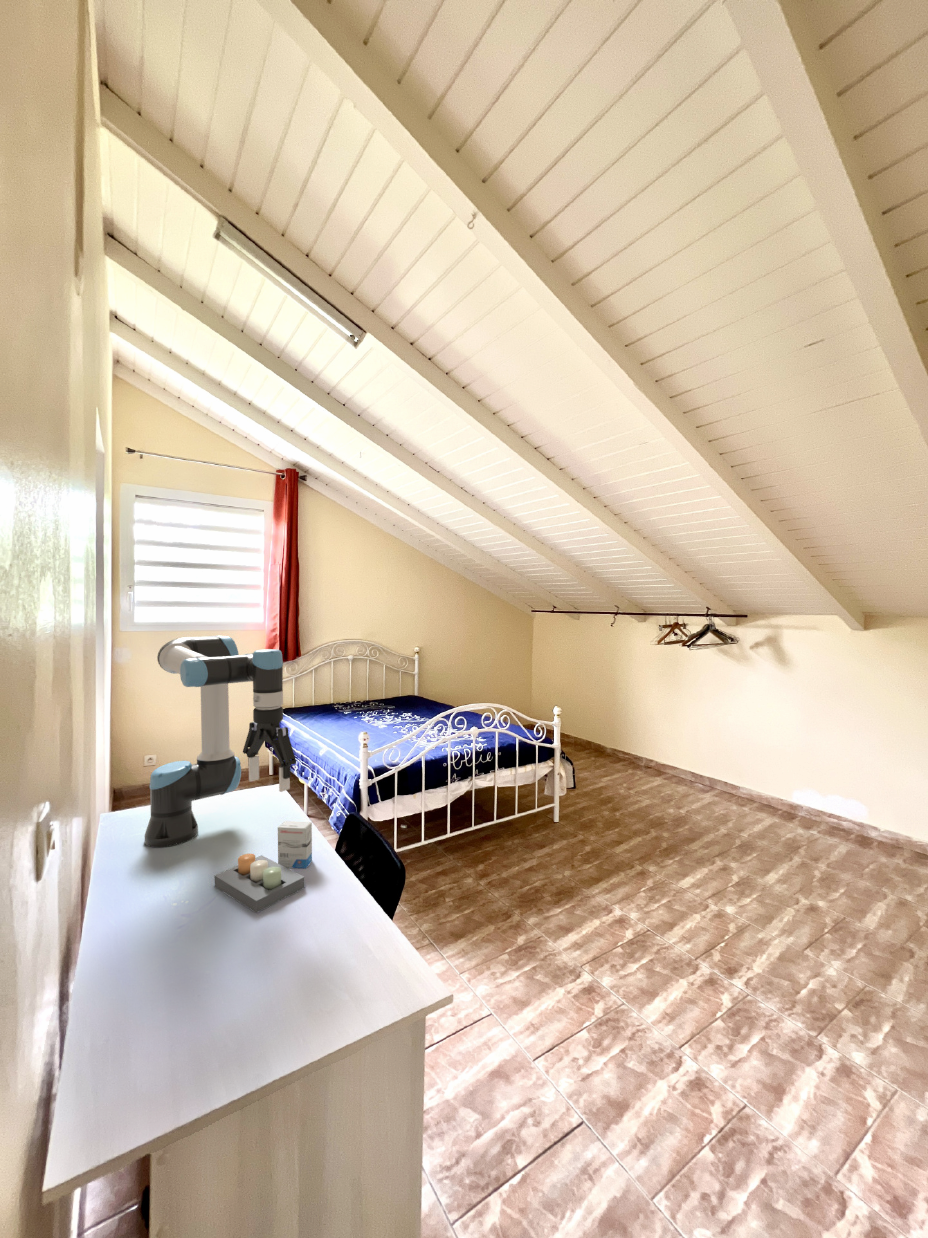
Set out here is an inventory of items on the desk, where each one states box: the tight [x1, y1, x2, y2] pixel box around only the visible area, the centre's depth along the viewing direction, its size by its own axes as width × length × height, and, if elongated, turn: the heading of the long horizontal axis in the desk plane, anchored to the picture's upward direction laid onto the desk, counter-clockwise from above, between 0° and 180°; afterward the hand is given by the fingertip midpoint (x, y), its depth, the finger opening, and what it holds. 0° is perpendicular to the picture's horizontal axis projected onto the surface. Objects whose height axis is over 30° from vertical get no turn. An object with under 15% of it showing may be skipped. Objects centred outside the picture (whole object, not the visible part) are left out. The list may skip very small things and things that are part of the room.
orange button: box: [237, 853, 256, 876], centre depth 143 cm, size 4×4×4 cm
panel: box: [213, 854, 306, 914], centre depth 140 cm, size 20×14×3 cm
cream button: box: [250, 860, 268, 883], centre depth 140 cm, size 4×4×4 cm
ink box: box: [277, 820, 313, 869], centre depth 152 cm, size 8×5×12 cm, turn 84°
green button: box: [263, 867, 281, 891], centre depth 136 cm, size 4×4×4 cm
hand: (268, 785), depth 142 cm, fingers open, 13 cm apart
